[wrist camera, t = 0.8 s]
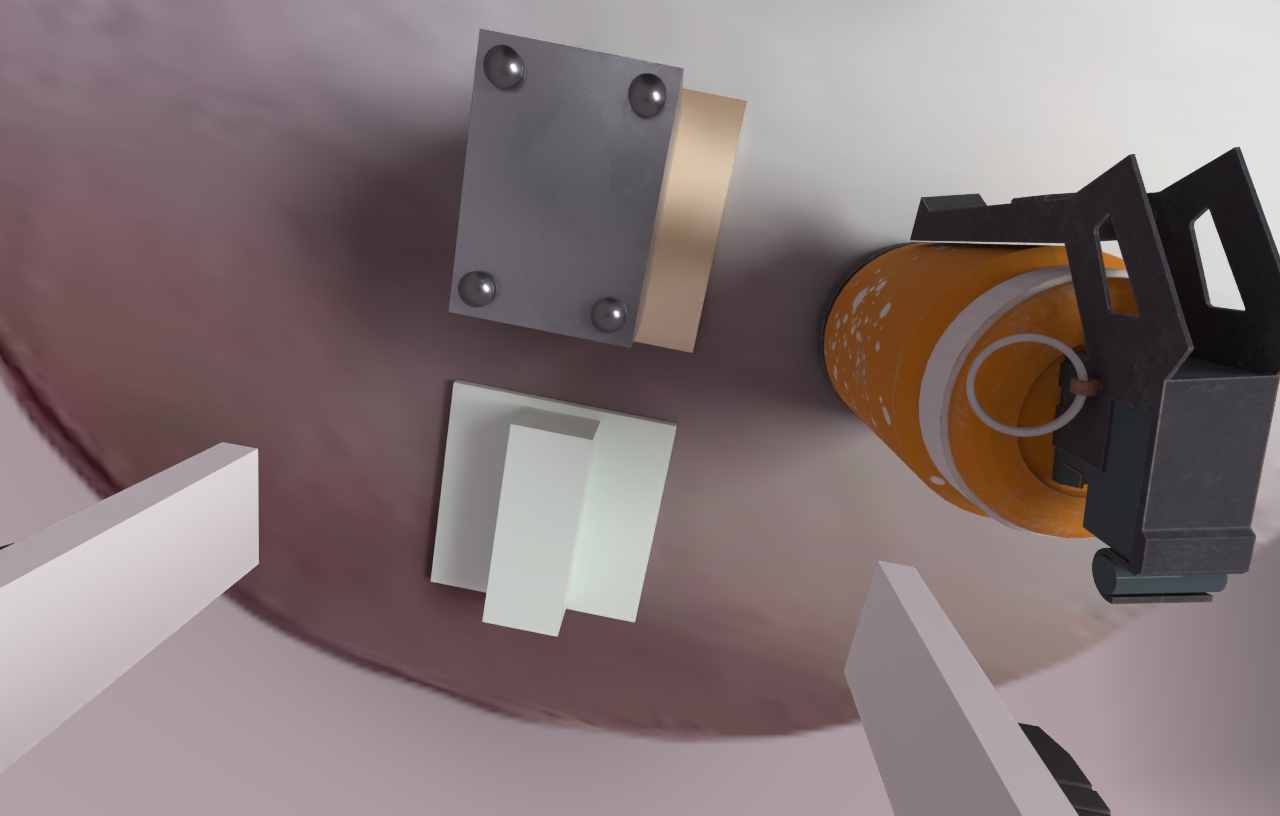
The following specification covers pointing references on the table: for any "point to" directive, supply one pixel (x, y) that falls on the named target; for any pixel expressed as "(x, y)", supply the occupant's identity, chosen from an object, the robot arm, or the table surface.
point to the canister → (1078, 369)
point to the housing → (563, 187)
